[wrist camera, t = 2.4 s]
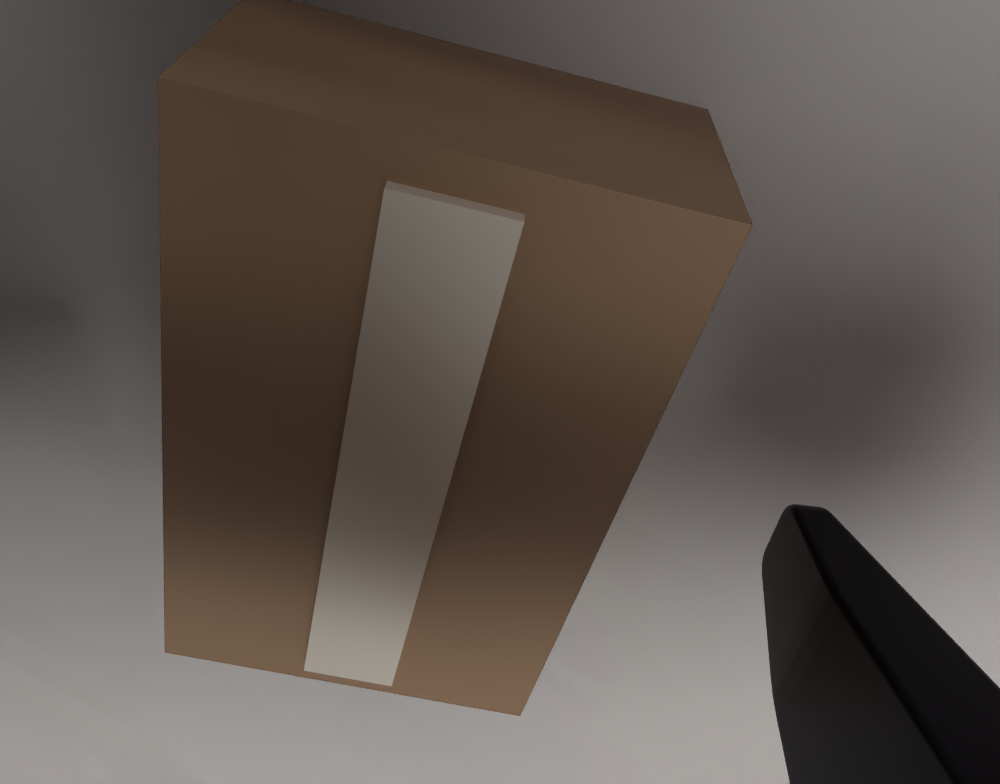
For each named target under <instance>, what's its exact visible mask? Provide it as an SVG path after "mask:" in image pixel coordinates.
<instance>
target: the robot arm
mask: <svg viewBox="0 0 1000 784" xmlns="http://www.w3.org/2000/svg"><path fill="white" fill-rule="evenodd" d="M762 579H763V591H764V603H765V615H766V627H767V639H768V651H769V662H770V674H771V684H772V693H773V700H774V705H775V711H776V717H777V722H778V727H779V732H780V737H781V741H782V746H783V751H784V756H785V761H786V766H787V771H788V776H789V781H790V784H1000V688H999V687H998V686H997V685H996V684H995V683H994V682H993V681H992V679H991V678H990V677H989V676H988V675H987V674H986V673H985V672H984V671H983V670H982V669H981V668H980V667H979V666H978V665H977V664H976V663H975V662H974V661H973V660H972V659H971V658H970V657H969V656H968V655H967V654H966V653H965V651H964V650H963V649H962V648H961V647H960V646H959V645H958V644H957V643H956V642H955V641H954V640H953V639H952V638H951V637H950V636H949V635H948V634H947V633H946V632H945V631H944V630H943V629H942V628H941V627H940V626H939V625H938V623H937V622H936V621H935V620H934V619H933V618H932V617H931V616H930V615H929V614H928V613H927V612H926V611H925V610H924V609H923V608H922V607H921V606H920V605H919V604H918V603H917V602H916V601H915V600H914V599H913V598H912V597H911V595H910V594H909V593H908V592H907V591H906V590H905V589H904V588H903V587H902V586H901V585H900V584H899V583H898V582H897V581H896V580H895V579H894V578H893V577H892V576H891V575H890V574H889V573H888V572H887V571H886V570H885V569H884V567H883V566H882V565H881V564H880V563H879V562H878V561H877V560H876V559H875V558H874V557H873V556H872V555H871V554H870V553H869V552H868V551H867V550H866V549H865V548H864V547H863V546H862V545H861V544H860V543H859V542H858V541H857V539H856V538H855V537H854V536H853V535H852V534H851V533H850V532H849V531H848V530H847V529H846V528H845V527H844V526H843V525H842V524H841V523H840V522H839V521H838V520H837V519H836V518H835V517H834V516H833V515H832V514H831V513H830V512H829V511H828V510H826V509H824V508H821V507H815V506H806V505H798V504H793V505H789V506H787V507H786V508H785V510H784V511H783V513H782V515H781V517H780V519H779V521H778V523H777V526H776V528H775V530H774V532H773V534H772V536H771V539H770V541H769V543H768V545H767V547H766V549H765V552H764V556H763V561H762Z"/></svg>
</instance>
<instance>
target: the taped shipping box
mask: <svg viewBox="0 0 1000 784" xmlns="http://www.w3.org/2000/svg"><path fill="white" fill-rule="evenodd" d="M158 115H159V200H160V284H161V369H162V454H163V539H164V623H165V652H166V653H171V654H177V655H182V656H188V657H193V658H199V659H205V660H210V661H216V662H221V663H227V664H233V665H238V666H244V667H249V668H255V669H260V670H266V671H272V672H277V673H283V674H288V675H294V676H300V677H305V678H311V679H316V680H322V681H327V682H333V683H339V684H344V685H350V686H355V687H361V688H367V689H372V690H378V691H383V692H389V693H395V694H400V695H406V696H411V697H417V698H422V699H428V700H434V701H439V702H445V703H450V704H456V705H462V706H467V707H473V708H478V709H484V710H489V711H495V712H501V713H506V714H512V715H517V716H520V715H521V713H522V711H523V709H524V707H525V705H526V703H527V700H528V698H529V696H530V694H531V692H532V690H533V688H534V686H535V684H536V681H537V679H538V677H539V675H540V673H541V671H542V669H543V667H544V665H545V662H546V660H547V658H548V656H549V654H550V652H551V650H552V648H553V645H554V643H555V641H556V639H557V637H558V635H559V633H560V631H561V629H562V626H563V624H564V622H565V620H566V618H567V616H568V614H569V612H570V610H571V607H572V605H573V603H574V601H575V599H576V597H577V595H578V593H579V591H580V588H581V586H582V584H583V582H584V580H585V578H586V576H587V574H588V572H589V569H590V567H591V565H592V563H593V561H594V559H595V557H596V555H597V552H598V550H599V548H600V546H601V544H602V542H603V540H604V538H605V536H606V533H607V531H608V529H609V527H610V525H611V523H612V521H613V519H614V517H615V514H616V512H617V510H618V508H619V506H620V504H621V502H622V500H623V498H624V495H625V493H626V491H627V489H628V487H629V485H630V483H631V481H632V479H633V476H634V474H635V472H636V470H637V468H638V466H639V464H640V462H641V459H642V457H643V455H644V453H645V451H646V449H647V447H648V445H649V443H650V440H651V438H652V436H653V434H654V432H655V430H656V428H657V426H658V424H659V421H660V419H661V417H662V415H663V413H664V411H665V409H666V407H667V405H668V402H669V400H670V398H671V396H672V394H673V392H674V390H675V388H676V386H677V383H678V381H679V379H680V377H681V375H682V373H683V371H684V369H685V366H686V364H687V362H688V360H689V358H690V356H691V354H692V352H693V350H694V347H695V345H696V343H697V341H698V339H699V337H700V335H701V333H702V331H703V328H704V326H705V324H706V322H707V320H708V318H709V316H710V314H711V312H712V309H713V307H714V305H715V303H716V301H717V299H718V297H719V295H720V293H721V290H722V288H723V286H724V284H725V282H726V280H727V278H728V276H729V273H730V271H731V269H732V267H733V265H734V263H735V261H736V259H737V257H738V254H739V252H740V250H741V248H742V246H743V244H744V242H745V240H746V238H747V235H748V233H749V231H750V229H751V227H752V223H751V220H750V218H749V215H748V213H747V210H746V207H745V205H744V202H743V200H742V197H741V194H740V192H739V189H738V187H737V184H736V181H735V179H734V176H733V174H732V171H731V168H730V166H729V163H728V161H727V158H726V155H725V153H724V150H723V148H722V145H721V142H720V140H719V137H718V135H717V132H716V129H715V127H714V124H713V122H712V119H711V116H710V114H709V111H708V110H707V109H703V108H699V107H695V106H692V105H688V104H684V103H680V102H676V101H673V100H669V99H665V98H661V97H657V96H653V95H650V94H646V93H642V92H638V91H634V90H630V89H627V88H623V87H619V86H615V85H611V84H608V83H604V82H600V81H596V80H592V79H588V78H585V77H581V76H577V75H573V74H569V73H565V72H562V71H558V70H554V69H550V68H546V67H542V66H539V65H535V64H531V63H527V62H523V61H520V60H516V59H512V58H508V57H504V56H500V55H497V54H493V53H489V52H485V51H481V50H477V49H474V48H470V47H466V46H462V45H458V44H454V43H451V42H447V41H443V40H439V39H435V38H432V37H428V36H424V35H420V34H416V33H412V32H409V31H405V30H401V29H397V28H393V27H389V26H386V25H382V24H378V23H374V22H370V21H366V20H363V19H359V18H355V17H351V16H347V15H344V14H340V13H336V12H332V11H328V10H324V9H321V8H317V7H313V6H309V5H305V4H301V3H298V2H294V1H290V0H242V1H241V2H240V3H238V4H237V5H236V6H235V7H234V8H233V9H232V10H231V11H230V12H229V13H228V14H226V15H225V16H224V17H223V18H222V19H221V20H220V21H219V22H218V23H217V24H215V25H214V26H213V27H212V28H211V29H210V30H209V31H208V32H207V33H206V34H205V35H203V36H202V37H201V38H200V39H199V40H198V41H197V42H196V43H195V44H194V45H193V46H191V47H190V48H189V49H188V50H187V51H186V52H185V53H184V54H183V55H182V56H180V57H179V58H178V59H177V60H176V61H175V62H174V63H173V64H172V65H171V66H170V67H168V68H167V69H166V70H165V71H164V72H163V73H162V74H161V75H160V76H159V77H158Z"/></svg>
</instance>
